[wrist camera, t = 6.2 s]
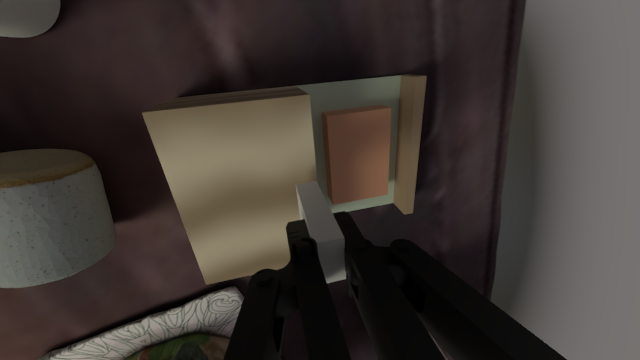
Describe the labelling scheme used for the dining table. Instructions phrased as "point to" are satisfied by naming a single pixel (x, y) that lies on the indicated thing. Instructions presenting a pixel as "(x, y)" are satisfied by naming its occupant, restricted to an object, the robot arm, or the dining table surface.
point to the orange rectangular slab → (357, 152)
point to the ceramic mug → (51, 216)
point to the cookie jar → (166, 333)
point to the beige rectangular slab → (236, 173)
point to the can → (27, 17)
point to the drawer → (404, 131)
